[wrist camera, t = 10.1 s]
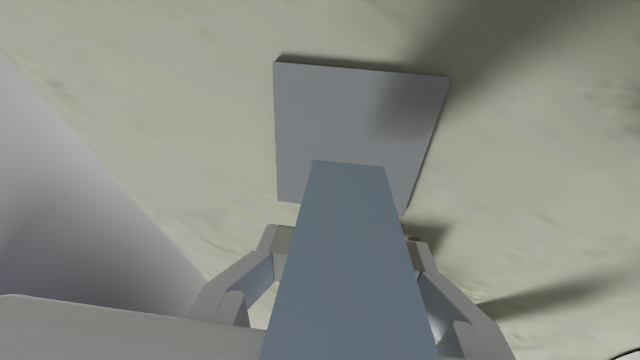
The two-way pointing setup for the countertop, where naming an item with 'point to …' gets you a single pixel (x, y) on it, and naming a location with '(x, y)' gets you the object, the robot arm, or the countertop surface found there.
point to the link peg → (348, 276)
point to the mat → (353, 123)
